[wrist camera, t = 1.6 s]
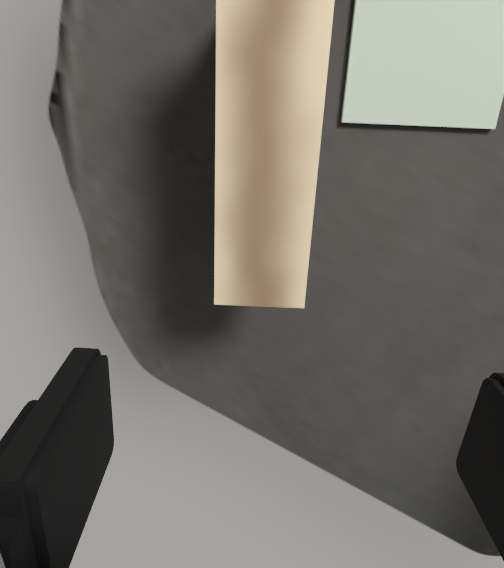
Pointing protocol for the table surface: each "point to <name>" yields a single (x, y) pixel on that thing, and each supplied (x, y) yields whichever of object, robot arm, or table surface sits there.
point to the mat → (425, 63)
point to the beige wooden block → (267, 146)
